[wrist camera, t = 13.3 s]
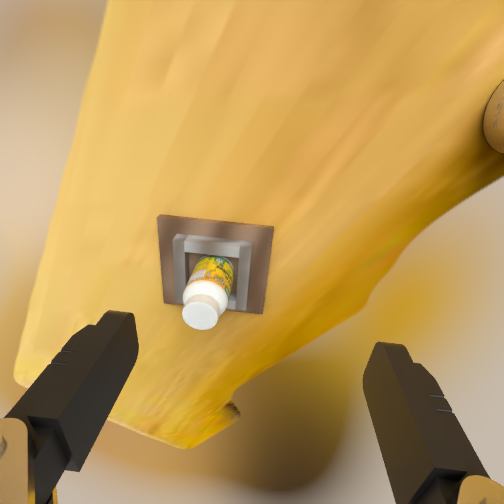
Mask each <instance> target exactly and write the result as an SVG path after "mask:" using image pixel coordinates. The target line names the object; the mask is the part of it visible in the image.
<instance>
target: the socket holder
mask: <svg viewBox="0 0 504 504" xmlns="http://www.w3.org/2000/svg"><path fill="white" fill-rule="evenodd" d="M157 221H158V234H159V246H160V259H161V271H162V284H163V296H164V303H168V304H177V305H184V303H183V293H184V290H185V288H186V286H187V283H188V281H189V279H190V277H191V274H192V272H193V270H194V268H195V266H196V264H197V262H198V260H199V259H200V258H201V257H203V256H205V255H217V256H223V257H225V258H227V259H228V260H229V261H230V262H231V263H232V265H233V267H234V278H233V282H232V287H231V291H230V296H229V301H228V305H227V308H226V309H225V310H230V311H239V312H248V313H257V314H263V307H264V299H265V292H266V284H267V276H268V269H269V261H270V254H271V246H272V238H273V231H274V227H273V226H264V225H254V224H245V223H236V222H226V221H217V220H207V219H198V218H188V217H179V216H170V215H159V216H158V217H157Z"/></svg>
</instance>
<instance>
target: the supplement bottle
mask: <svg viewBox="0 0 504 504" xmlns="http://www.w3.org/2000/svg"><path fill="white" fill-rule="evenodd" d="M233 278H234V267H233V265H232V263H231V262H230V261H229V260H228V259H227V258H225V257H223V256H217V255H205V256H203V257H201V258H200V259H199V260H198V262H197V264H196V266H195V268H194V270H193V272H192V274H191V277H190V279H189V281H188V283H187V286H186V288H185V290H184V293H183V303H184V308H183V311H182V316H183V319H184V321H185V322H186V323H187V324H188V325H189V326H190V327H192V328H195V329H199V330H207V329H210V328H212V327H214V326H215V325H216V323H217V321H218V318H219V316H220V315H221V314H222V313H223V312H224V311H225V309H226V308H227V305H228V301H229V296H230V291H231V287H232V282H233Z"/></svg>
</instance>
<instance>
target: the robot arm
mask: <svg viewBox="0 0 504 504" xmlns="http://www.w3.org/2000/svg"><path fill="white" fill-rule="evenodd" d="M483 129H484V135H485V137H486V140H487V142H488V143H489V145H490V146H491V147H492V148H493V149H495V150H496V151H498V152H499V153H502V154H504V81H503V82H502V83H501V84H500V85H499V87H498V88H497V89H496V91H495V92H494V93H493V95H492V97H491V99H490V101H489V103H488V105H487V108H486V111H485V114H484V121H483ZM138 350H139V344H138V337H137V331H136V324H135V317H134V314H133V313H129V312H120V311H111V310H109V311H107V312H106V313H105V314H104V315H103V316H102V318H101V319H100V320H99V322H98V323H97V324H96V325H87V326H86V327H84V328H83V329H81V330H80V331H79V332H77V333H76V334H74V335H73V336H72V337H71V338H70V339H69V341H68V342H67V343H66V344H65V345H64V347H63V348H62V349H61V352H59V353H58V354H57V355H56V356H55V357H54V359H53V360H52V362H51V364H49V365H48V366H47V367H46V368H45V370H44V371H43V372H42V373H41V374H40V376H39V377H38V378H37V379H36V380H35V382H34V383H33V384H32V385H31V386H30V388H29V389H28V390H27V391H26V392H25V394H24V395H23V396H22V397H21V399H20V400H19V401H18V402H17V403H16V405H15V406H14V407H13V408H12V409H11V411H10V412H9V413H8V414H7V415H6V416H5V417H4V418H2V419H0V504H58V503H57V490H56V484H57V483H58V481H59V479H60V477H61V475H62V474H63V472H64V470H68V471H76V472H80V470H81V468H82V466H83V464H84V462H85V460H86V458H87V456H88V454H89V452H90V450H91V448H92V446H93V445H94V442H95V441H96V438H97V437H98V435H99V433H100V431H101V429H102V427H103V425H104V423H105V421H106V419H107V417H108V415H109V413H110V412H111V410H112V408H113V406H114V404H115V402H116V400H117V398H118V396H119V394H120V392H121V390H122V388H123V386H124V384H125V382H126V380H127V379H128V377H129V375H130V373H131V371H132V369H133V367H134V365H135V363H136V360H137V356H138ZM363 390H364V394H365V398H366V401H367V405H368V408H369V412H370V415H371V419H372V422H373V425H374V429H375V433H376V436H377V439H378V443H379V446H380V450H381V453H382V457H383V460H384V463H385V467H386V470H387V474H388V477H389V481H390V484H391V488H392V491H393V495H394V498H395V502H396V504H504V487H503V486H502V485H500V484H499V483H497V482H495V481H493V480H492V479H491V478H490V477H489V475H488V474H487V472H486V471H485V469H484V467H483V465H482V463H481V461H480V460H479V458H478V456H477V454H476V452H475V451H474V449H473V447H472V445H471V443H470V441H469V440H468V438H467V436H466V434H465V432H464V431H463V429H462V427H461V425H460V423H459V422H458V420H457V418H456V416H455V414H454V413H452V409H451V407H450V405H449V403H448V401H447V400H446V399H445V398H444V394H443V392H442V390H441V389H440V387H439V385H438V383H437V381H436V380H435V378H434V377H433V376H432V375H431V374H430V373H429V372H428V371H427V370H426V369H425V368H424V367H423V366H422V365H421V364H419V363H413V361H412V359H411V357H410V355H409V353H408V351H407V349H406V347H405V346H403V345H402V344H393V343H385V342H377V343H376V344H375V346H374V349H373V351H372V354H371V356H370V359H369V361H368V364H367V366H366V369H365V371H364V375H363Z"/></svg>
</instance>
